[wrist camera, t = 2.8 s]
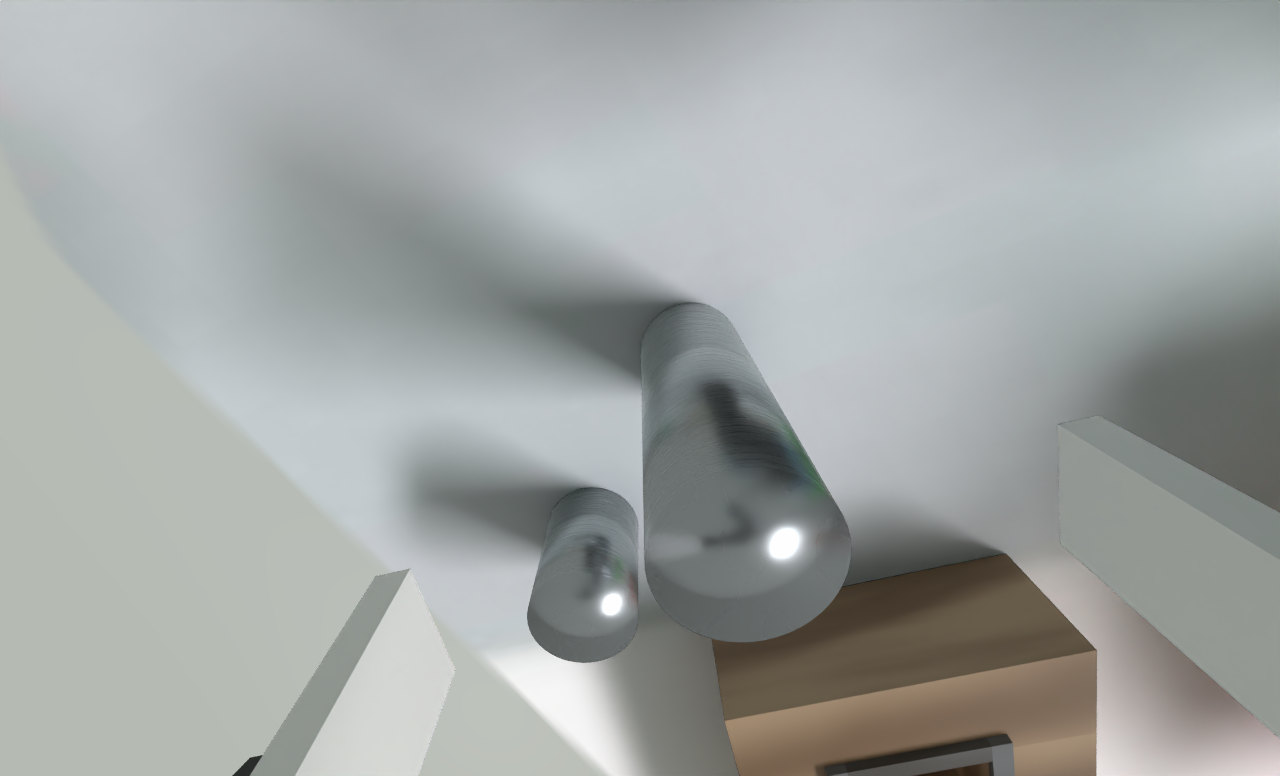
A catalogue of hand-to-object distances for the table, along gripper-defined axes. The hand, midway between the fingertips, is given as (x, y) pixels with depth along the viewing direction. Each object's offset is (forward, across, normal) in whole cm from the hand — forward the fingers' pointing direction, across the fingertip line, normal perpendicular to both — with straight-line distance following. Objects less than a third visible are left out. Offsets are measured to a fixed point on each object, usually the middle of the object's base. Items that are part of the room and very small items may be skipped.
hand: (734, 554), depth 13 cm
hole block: (+14, +5, -20) cm, 25 cm away
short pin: (+14, -6, -7) cm, 16 cm away
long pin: (+14, 0, 0) cm, 14 cm away
